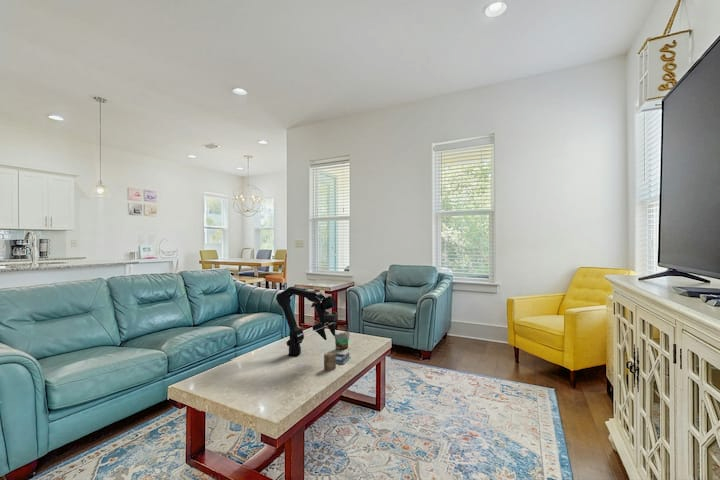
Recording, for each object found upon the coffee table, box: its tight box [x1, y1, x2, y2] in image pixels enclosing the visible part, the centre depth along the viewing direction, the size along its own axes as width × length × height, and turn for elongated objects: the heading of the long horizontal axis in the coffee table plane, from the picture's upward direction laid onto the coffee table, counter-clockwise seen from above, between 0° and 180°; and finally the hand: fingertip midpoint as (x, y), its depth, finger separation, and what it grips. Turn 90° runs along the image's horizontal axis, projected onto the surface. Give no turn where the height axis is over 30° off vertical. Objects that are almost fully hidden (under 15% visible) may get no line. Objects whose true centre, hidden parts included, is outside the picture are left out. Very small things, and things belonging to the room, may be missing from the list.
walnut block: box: [323, 352, 337, 372], centre depth 180 cm, size 4×5×8 cm
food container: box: [333, 330, 351, 351], centre depth 215 cm, size 12×6×10 cm, turn 143°
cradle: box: [335, 352, 352, 365], centre depth 194 cm, size 11×11×3 cm
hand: (330, 337), depth 191 cm, fingers open, 9 cm apart
